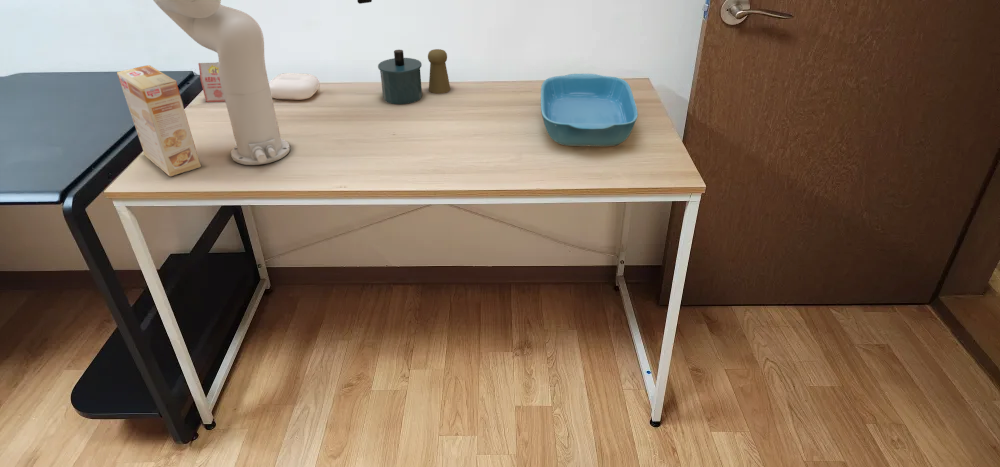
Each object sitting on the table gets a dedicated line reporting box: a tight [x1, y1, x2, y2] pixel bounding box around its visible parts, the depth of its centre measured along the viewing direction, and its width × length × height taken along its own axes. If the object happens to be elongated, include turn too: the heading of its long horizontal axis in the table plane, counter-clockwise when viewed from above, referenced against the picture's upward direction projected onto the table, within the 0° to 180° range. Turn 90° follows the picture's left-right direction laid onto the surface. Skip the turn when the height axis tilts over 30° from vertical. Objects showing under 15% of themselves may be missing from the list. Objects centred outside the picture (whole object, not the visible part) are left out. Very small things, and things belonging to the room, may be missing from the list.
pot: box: [379, 68, 423, 105], centre depth 172 cm, size 10×10×8 cm
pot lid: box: [377, 49, 422, 74], centre depth 168 cm, size 11×11×5 cm
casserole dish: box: [540, 73, 639, 147], centre depth 156 cm, size 37×22×7 cm, turn 177°
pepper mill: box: [427, 48, 451, 95], centre depth 175 cm, size 6×6×11 cm
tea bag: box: [197, 61, 225, 103], centre depth 171 cm, size 4×7×10 cm, turn 95°
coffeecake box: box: [116, 64, 202, 177], centre depth 137 cm, size 15×7×20 cm, turn 44°
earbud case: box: [268, 72, 321, 101], centre depth 174 cm, size 10×13×5 cm
